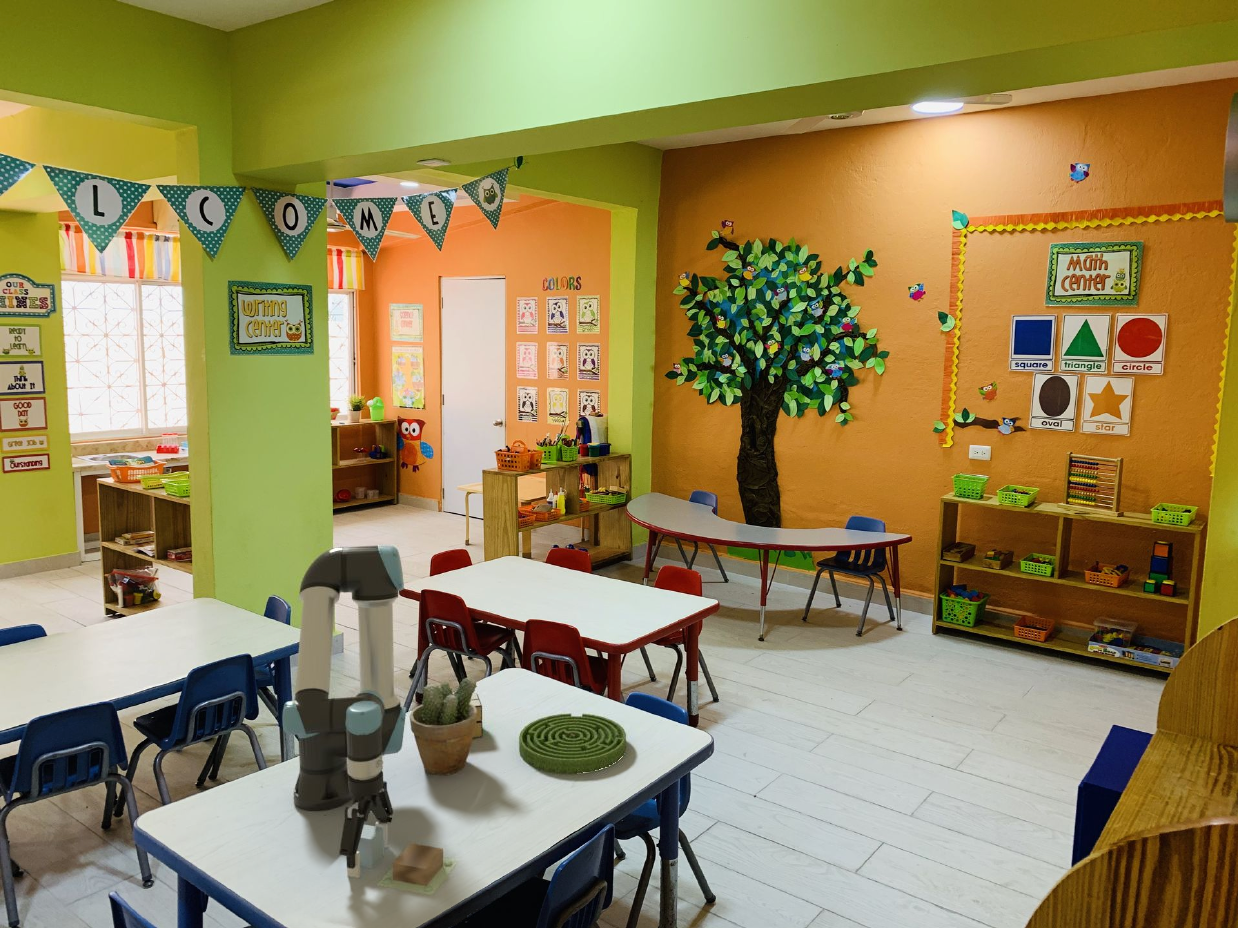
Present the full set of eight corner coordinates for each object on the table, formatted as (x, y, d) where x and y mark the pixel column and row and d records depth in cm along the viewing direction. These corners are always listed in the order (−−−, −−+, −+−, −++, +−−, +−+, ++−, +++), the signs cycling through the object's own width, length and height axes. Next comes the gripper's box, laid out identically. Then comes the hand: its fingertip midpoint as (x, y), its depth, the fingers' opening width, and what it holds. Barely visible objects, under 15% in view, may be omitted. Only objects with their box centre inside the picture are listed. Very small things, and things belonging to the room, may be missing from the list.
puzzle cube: (444, 727, 273) (444, 696, 272) (477, 723, 276) (477, 692, 275) (448, 741, 264) (448, 709, 262) (482, 737, 267) (482, 705, 265)
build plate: (376, 888, 193) (376, 883, 193) (406, 855, 205) (406, 850, 205) (431, 899, 189) (431, 893, 189) (458, 864, 202) (458, 859, 202)
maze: (626, 727, 275) (626, 712, 274) (624, 776, 244) (625, 759, 243) (526, 725, 276) (526, 710, 275) (512, 774, 245) (512, 757, 244)
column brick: (352, 869, 200) (351, 835, 199) (364, 856, 205) (363, 824, 204) (372, 872, 199) (371, 839, 197) (384, 860, 203) (383, 827, 202)
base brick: (393, 879, 194) (392, 862, 194) (410, 859, 202) (410, 842, 201) (426, 885, 192) (426, 868, 192) (443, 865, 200) (442, 848, 199)
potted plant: (427, 788, 236) (425, 698, 233) (399, 761, 251) (397, 676, 247) (489, 769, 247) (488, 682, 243) (459, 744, 262) (458, 662, 258)
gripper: (351, 800, 186) (354, 897, 189) (406, 751, 209) (409, 838, 212) (319, 795, 188) (323, 891, 191) (378, 747, 211) (380, 833, 214)
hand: (368, 863), depth 202 cm, fingers open, 11 cm apart
